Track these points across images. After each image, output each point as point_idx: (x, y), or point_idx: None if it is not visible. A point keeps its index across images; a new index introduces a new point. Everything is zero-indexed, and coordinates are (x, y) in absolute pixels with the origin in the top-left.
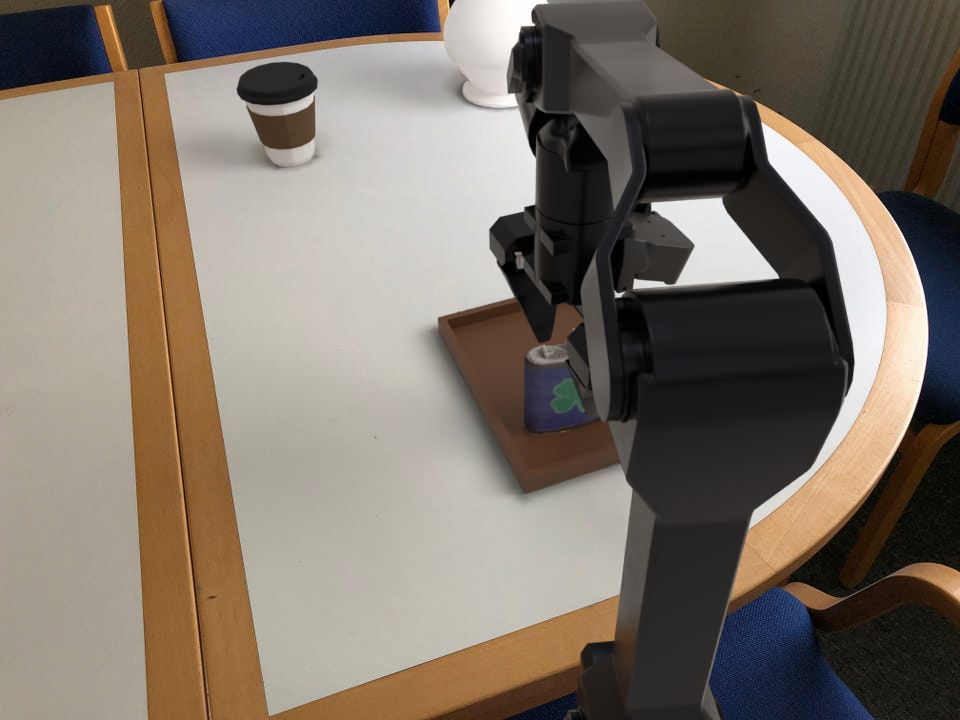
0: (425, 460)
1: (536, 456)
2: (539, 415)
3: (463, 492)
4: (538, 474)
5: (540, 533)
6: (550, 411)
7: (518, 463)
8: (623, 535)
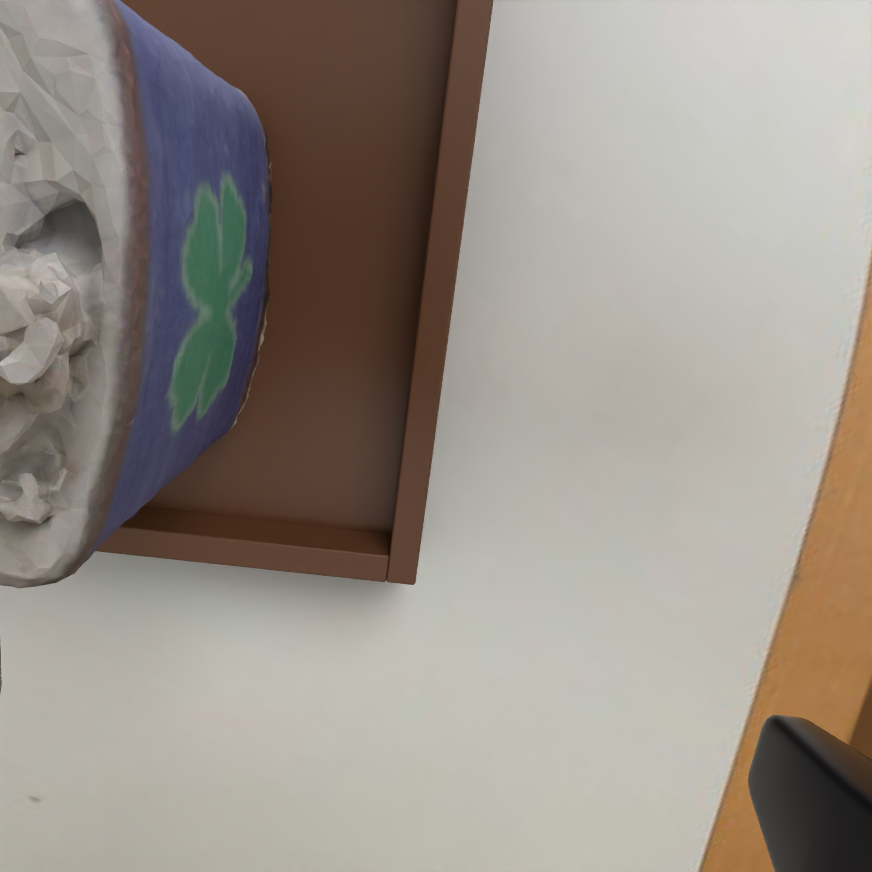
0: (174, 722)
1: (316, 468)
2: (206, 440)
3: (327, 683)
4: (418, 540)
5: (550, 577)
6: (216, 408)
7: (349, 572)
8: (683, 387)
